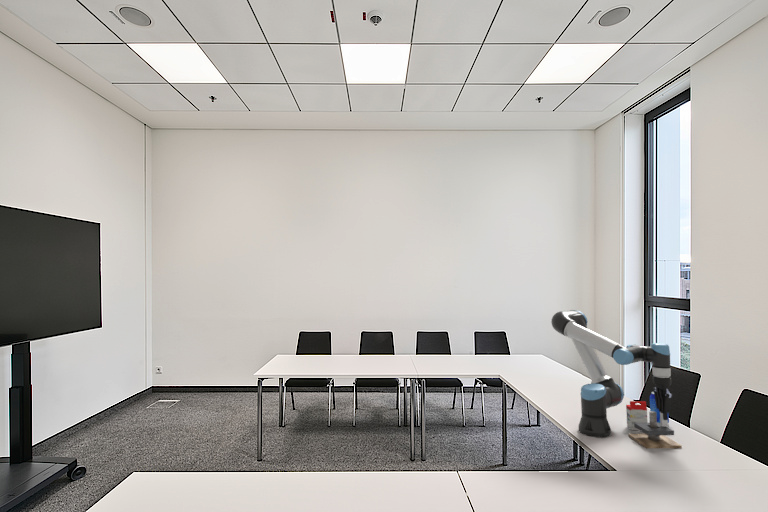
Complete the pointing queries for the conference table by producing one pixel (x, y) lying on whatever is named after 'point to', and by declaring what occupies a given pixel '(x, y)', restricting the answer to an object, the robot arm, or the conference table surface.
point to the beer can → (653, 407)
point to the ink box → (636, 414)
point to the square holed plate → (653, 429)
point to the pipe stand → (654, 437)
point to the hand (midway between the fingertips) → (664, 426)
